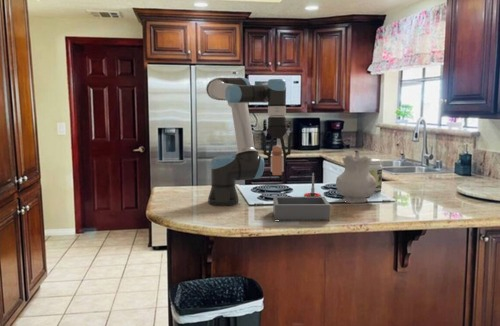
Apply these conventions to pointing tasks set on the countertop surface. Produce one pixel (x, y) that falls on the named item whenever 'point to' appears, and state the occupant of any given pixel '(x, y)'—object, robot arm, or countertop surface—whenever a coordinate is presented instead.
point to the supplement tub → (376, 172)
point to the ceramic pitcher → (356, 179)
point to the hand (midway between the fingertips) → (277, 171)
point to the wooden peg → (276, 160)
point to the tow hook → (312, 190)
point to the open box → (301, 209)
